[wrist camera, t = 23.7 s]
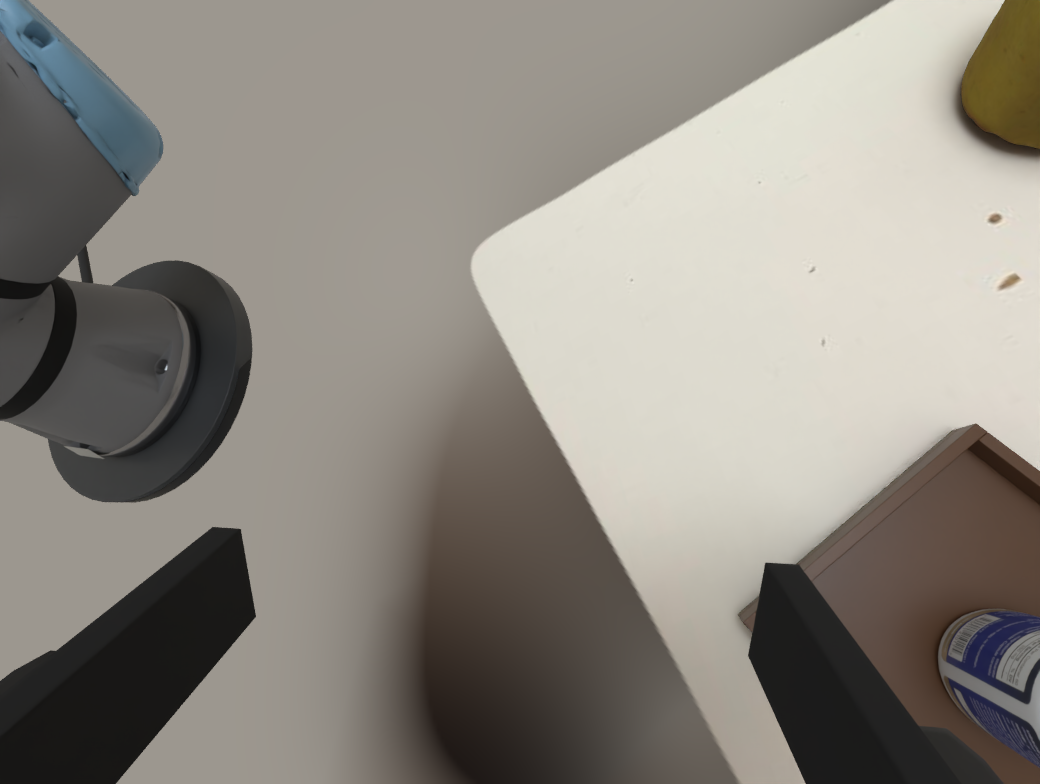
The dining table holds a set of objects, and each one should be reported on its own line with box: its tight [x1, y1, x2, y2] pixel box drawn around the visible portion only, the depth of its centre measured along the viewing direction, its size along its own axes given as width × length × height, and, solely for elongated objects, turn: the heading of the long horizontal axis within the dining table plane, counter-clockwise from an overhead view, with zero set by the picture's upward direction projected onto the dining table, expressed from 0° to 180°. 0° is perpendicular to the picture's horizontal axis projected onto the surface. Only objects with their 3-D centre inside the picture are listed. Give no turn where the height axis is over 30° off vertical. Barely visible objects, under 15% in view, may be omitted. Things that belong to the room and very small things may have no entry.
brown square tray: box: [738, 424, 1040, 784], centre depth 22 cm, size 17×15×2 cm
